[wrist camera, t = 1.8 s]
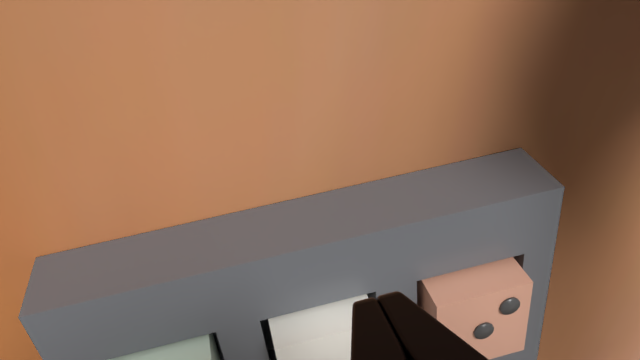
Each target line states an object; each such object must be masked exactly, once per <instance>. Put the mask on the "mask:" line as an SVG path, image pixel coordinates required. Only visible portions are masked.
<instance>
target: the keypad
mask: <svg viewBox="0 0 640 360" xmlns="http://www.w3.org/2000/svg"><path fill="white" fill-rule="evenodd" d="M564 188H565V187H564V186H563V185H562V184H561V183H560V182H559V181H558V180H556V179H555V178H554V177H553V176H552V175H551V174H550V173H549V172H548V171H546V170H545V169H544V168H543V167H542V166H541V165H540V164H539V163H538V162H536V161H535V160H534V159H533V158H532V157H531V156H530V155H529V154H528V153H526V152H525V151H524V150H523V149H522V148H518V149H513V150H509V151H504V152H500V153H496V154H491V155H487V156H482V157H478V158H473V159H469V160H465V161H460V162H456V163H451V164H447V165H442V166H438V167H434V168H429V169H425V170H420V171H416V172H412V173H407V174H403V175H398V176H394V177H389V178H385V179H381V180H376V181H372V182H367V183H363V184H359V185H354V186H350V187H345V188H341V189H336V190H332V191H328V192H323V193H319V194H314V195H310V196H306V197H301V198H297V199H292V200H288V201H283V202H279V203H275V204H270V205H266V206H261V207H257V208H252V209H248V210H244V211H239V212H235V213H230V214H226V215H222V216H217V217H213V218H208V219H204V220H199V221H195V222H191V223H186V224H182V225H177V226H173V227H169V228H164V229H160V230H155V231H151V232H146V233H142V234H138V235H133V236H129V237H124V238H120V239H116V240H111V241H107V242H102V243H98V244H93V245H89V246H85V247H80V248H76V249H71V250H67V251H63V252H58V253H54V254H49V255H45V256H40V257H36V259H35V262H34V266H33V269H32V273H31V276H30V279H29V283H28V286H27V290H26V293H25V297H24V300H23V303H22V307H21V310H20V314H19V317H18V318H19V320H20V321H21V323H22V325H23V326H24V328H25V330H26V332H27V333H28V335H29V337H30V338H31V340H32V342H33V344H34V345H35V347H36V349H37V350H38V352H39V354H40V356H41V357H42V359H43V360H108V359H112V358H116V357H120V356H124V355H128V354H132V353H136V352H140V351H144V350H148V349H151V348H155V347H159V346H163V345H167V344H171V343H175V342H179V341H183V340H187V339H191V338H195V337H199V336H203V335H207V334H211V333H213V336H214V339H215V343H216V346H217V349H218V352H219V355H220V359H221V360H277V358H276V354H275V349H274V345H273V340H272V335H271V331H270V326H269V321H268V319H270V318H274V317H277V316H281V315H285V314H289V313H293V312H297V311H301V310H305V309H309V308H313V307H317V306H321V305H325V304H329V303H333V302H337V301H340V300H344V299H348V298H352V297H356V296H360V295H364V294H367V296H368V298H371V297H373V298H375V299H377V297H378V296H379V295H383V294H387V293H391V292H395V291H399V292H401V293H403V294H404V295H405V296H407V297H408V298H409V299H411V300H412V301H413V302H414V303H416V304H417V281H419V280H423V279H427V278H431V277H435V276H439V275H443V274H447V273H451V272H455V271H459V270H462V269H466V268H470V267H474V266H478V265H482V264H486V263H490V262H494V261H498V260H502V259H506V258H510V257H513V258H514V259H515V260H516V261H517V262H518V264H519V265H520V266H521V267H522V269H523V270H524V271H525V272H526V274H527V275H528V276H529V277H530V279H531V280H532V281H533V288H532V296H531V303H530V310H529V317H528V324H527V332H526V339H525V346H524V350H522V351H518V352H514V353H511V354H507V355H504V356H500V357H497V358H493V359H489V360H537V356H538V350H539V344H540V337H541V331H542V325H543V319H544V312H545V306H546V300H547V294H548V287H549V281H550V275H551V269H552V263H553V256H554V250H555V244H556V238H557V231H558V225H559V219H560V213H561V206H562V200H563V194H564Z"/></svg>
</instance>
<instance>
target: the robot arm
mask: <svg viewBox="0 0 640 360" xmlns="http://www.w3.org/2000/svg"><path fill="white" fill-rule="evenodd" d="M351 360H489V359H487V358H486V357H485V356H483V355H482V354H481V353H479V352H478V351H477V350H476V349H474V348H473V347H472V346H470V345H469V344H468V343H466V342H465V341H464V340H463V339H461V338H460V337H459V336H457V335H456V334H455V333H453V332H452V331H451V330H450V329H448V328H447V327H446V326H444V325H443V324H442V323H440V322H439V321H438V320H437V319H435V318H434V317H433V316H431V315H430V314H429V313H427V312H426V311H425V310H424V309H422V308H421V307H420V306H418V305H417V304H416V303H414V302H413V301H412V300H411V299H409V298H408V297H407V296H405V295H404V294H403V293H401V292H399V291H395V292H391V293H387V294H383V295H379V296H378V297H377V299H375V298H373V297H371V298H367V299H363V300H359V301H356V302H354V303H353V306H352V332H351Z"/></svg>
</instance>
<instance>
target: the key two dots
mask: <svg viewBox="0 0 640 360" xmlns="http://www.w3.org/2000/svg"><path fill="white" fill-rule="evenodd" d="M108 360H221V359H220V355H219V352H218V349H217V346H216V343H215V339H214V336H213V333H211V334H207V335H203V336H199V337H195V338H191V339H187V340H183V341H179V342H175V343H171V344H167V345H163V346H159V347H155V348H151V349H148V350H144V351H140V352H136V353H132V354H128V355H124V356H120V357H116V358H112V359H108Z"/></svg>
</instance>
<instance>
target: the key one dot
mask: <svg viewBox="0 0 640 360" xmlns="http://www.w3.org/2000/svg"><path fill="white" fill-rule="evenodd" d="M367 298H368V296H367V294H364V295H360V296H356V297H352V298H348V299H344V300H340V301H337V302H333V303H329V304H325V305H321V306H317V307H313V308H309V309H305V310H301V311H297V312H293V313H289V314H285V315H281V316H277V317H274V318H270V319H268V321H269V326H270V331H271V335H272V340H273V345H274V349H275V354H276V358H277V360H351V332H352V306H353V303H354V302H356V301H359V300H363V299H367Z"/></svg>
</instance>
